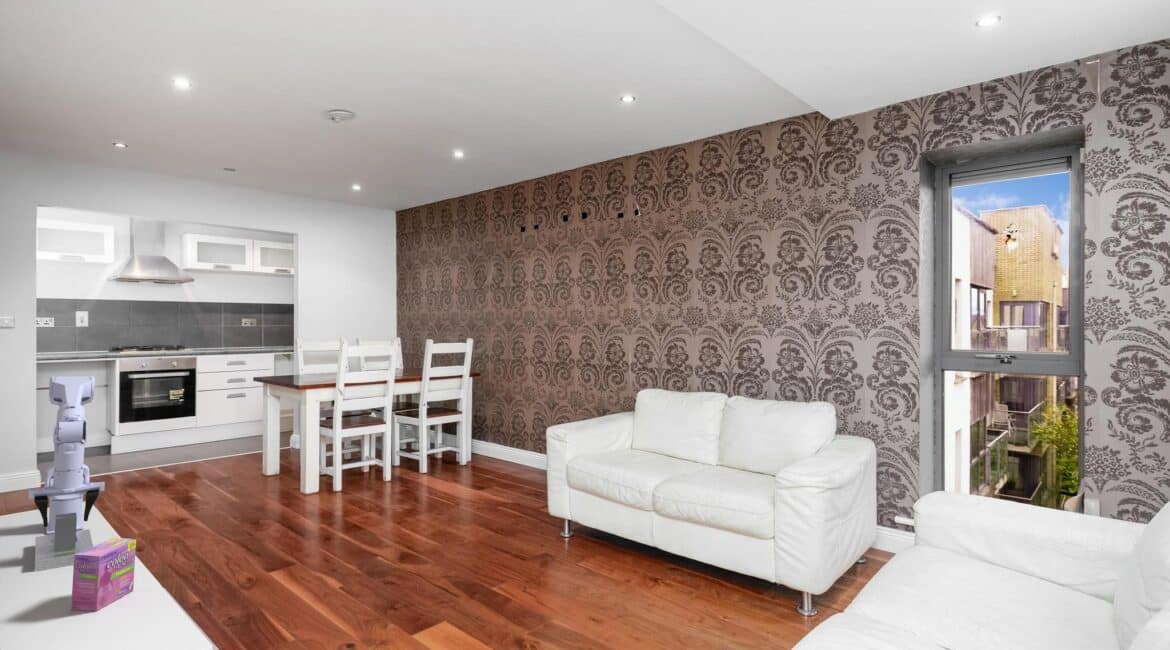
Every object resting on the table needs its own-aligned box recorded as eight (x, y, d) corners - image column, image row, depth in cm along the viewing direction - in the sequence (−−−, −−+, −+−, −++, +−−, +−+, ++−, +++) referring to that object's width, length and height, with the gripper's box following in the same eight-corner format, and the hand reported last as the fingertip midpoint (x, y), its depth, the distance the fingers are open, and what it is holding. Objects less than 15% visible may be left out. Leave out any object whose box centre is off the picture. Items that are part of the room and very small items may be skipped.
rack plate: (35, 546, 161) (35, 536, 161) (88, 538, 168) (89, 528, 168) (34, 571, 146) (35, 560, 146) (93, 561, 153) (94, 550, 153)
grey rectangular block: (53, 546, 154) (55, 515, 154) (74, 543, 157) (76, 512, 157) (54, 551, 151) (55, 519, 151) (75, 548, 154) (76, 516, 154)
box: (96, 612, 128) (99, 555, 128) (70, 610, 128) (73, 554, 128) (134, 590, 138) (137, 538, 138) (109, 589, 138) (112, 537, 138)
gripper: (29, 475, 146) (26, 532, 146) (106, 468, 156) (103, 522, 156) (30, 469, 151) (27, 524, 151) (104, 463, 161) (101, 514, 161)
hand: (65, 522), depth 154 cm, fingers open, 7 cm apart
